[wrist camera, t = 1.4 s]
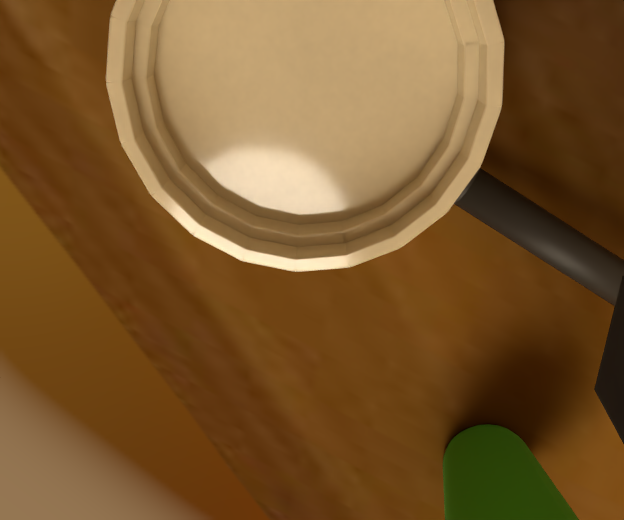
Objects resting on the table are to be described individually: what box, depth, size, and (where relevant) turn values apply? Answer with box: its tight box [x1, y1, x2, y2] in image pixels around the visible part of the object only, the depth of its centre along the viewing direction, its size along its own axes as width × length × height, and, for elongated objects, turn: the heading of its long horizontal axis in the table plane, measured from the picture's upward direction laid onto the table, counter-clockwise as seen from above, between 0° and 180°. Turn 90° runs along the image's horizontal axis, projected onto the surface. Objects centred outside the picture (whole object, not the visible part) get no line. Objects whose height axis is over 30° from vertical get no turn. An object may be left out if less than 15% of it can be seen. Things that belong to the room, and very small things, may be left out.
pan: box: [106, 0, 505, 272], centre depth 26 cm, size 16×16×3 cm
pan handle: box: [454, 168, 624, 306], centre depth 28 cm, size 2×14×4 cm, turn 60°
